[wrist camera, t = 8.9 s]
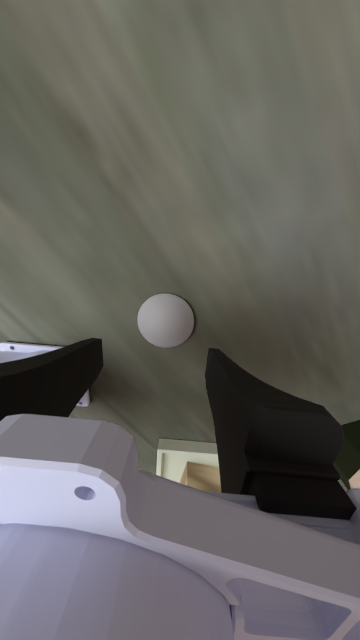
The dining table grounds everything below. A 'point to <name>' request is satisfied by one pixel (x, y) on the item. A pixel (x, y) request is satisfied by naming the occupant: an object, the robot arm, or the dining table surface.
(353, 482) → the wine bottle
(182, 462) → the tray
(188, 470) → the block
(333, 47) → the dining table surface
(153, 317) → the pad
